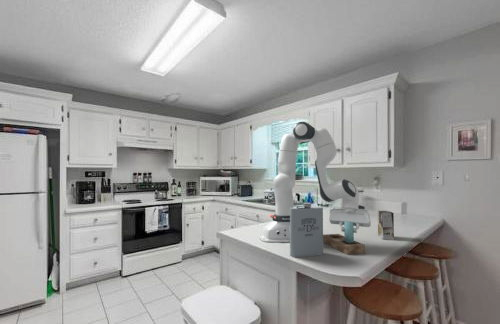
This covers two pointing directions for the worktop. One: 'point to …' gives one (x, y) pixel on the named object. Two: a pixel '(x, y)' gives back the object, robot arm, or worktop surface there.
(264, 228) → the robot arm
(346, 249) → the wooden compartment tray
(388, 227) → the coffee box
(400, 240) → the worktop surface
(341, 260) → the worktop surface
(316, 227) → the flask
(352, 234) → the peg
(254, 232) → the worktop surface
